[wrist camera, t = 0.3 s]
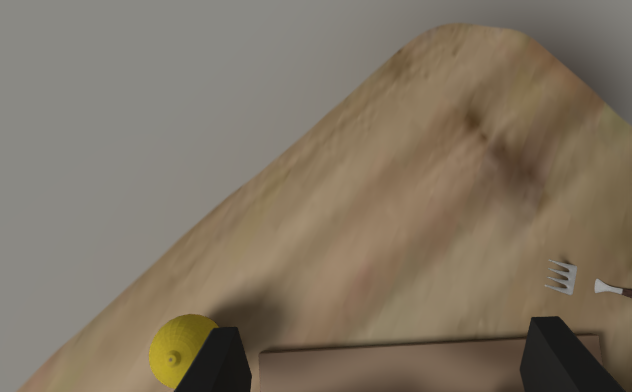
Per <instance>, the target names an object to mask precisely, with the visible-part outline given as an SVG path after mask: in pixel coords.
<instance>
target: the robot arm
mask: <svg viewBox="0 0 632 392" xmlns="http://www.w3.org/2000/svg"><path fill="white" fill-rule="evenodd" d="M519 370H520V374H521V378H522V382H523V386H524V390H525V392H626V391H625V390H624V389H623V388H622V387H621V386H620V385H619V384H618V383H617V382H616V380H615V379H614V378H613V377H612V376H611V375H610V374H609V373H608V372H607V371H606V370H605V368H604V367H603V366H602V365H601V364H600V363H599V362H598V361H597V359H596V358H595V357H594V356H593V355H592V354H591V353H590V352H589V350H588V349H587V348H586V347H585V346H584V345H583V344H582V342H581V341H580V340H579V339H578V338H577V337H576V335H575V334H574V333H573V332H572V331H571V330H570V328H569V327H568V326H567V325H566V324H565V323H564V321H563V320H562V319H561V318H560V317H558V316H554V317H531V322H530V326H529V330H528V335H527V339H526V343H525V348H524V352H523V356H522V360H521V365H520V369H519ZM251 379H252V375H251V371H250V368H249V365H248V361H247V358H246V355H245V351H244V348H243V345H242V341H241V338H240V335H239V331H238V328H237V327H221V328H213V329H212V330H211V331H210V333H209V335H208V336H207V338H206V340H205V342H204V343H203V345H202V347H201V348H200V350H199V352H198V354H197V355H196V357H195V359H194V360H193V362H192V364H191V365H190V367H189V368H188V370H187V372H186V373H185V375H184V376H183V378H182V380H181V381H180V383H179V384H178V386H177V387H176V389H175V390H174V392H250V390H251Z"/></svg>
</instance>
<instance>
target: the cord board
mask: <svg viewBox="0 0 632 392" xmlns="http://www.w3.org/2000/svg"><path fill="white" fill-rule="evenodd" d="M576 337H577V338H578V339H579V340H580V341H581V342H582V344H583V345H584V346H585V347H586V348H587V349H588V350H589V352H590V353H591V354H592V355H593V356H594V357H595V358H596V359H597V361H598V362H599V363H600V364H601V365H602V366H603V363H602V356H601V349H600V343H599V336H598V335H594V334H580V335H576ZM526 339H527V337H526V338H507V339H489V340H471V341H453V342H434V343H416V344H398V345H380V346H361V347H343V348H325V349H307V350H289V351H270V352H260V353H259V372H260V392H525V390H524V386H523V382H522V378H521V374H520V370H519V369H520V365H521V360H522V356H523V352H524V348H525V343H526Z"/></svg>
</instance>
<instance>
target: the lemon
mask: <svg viewBox="0 0 632 392" xmlns="http://www.w3.org/2000/svg"><path fill="white" fill-rule="evenodd" d="M213 328H219V327H218V326H217V324H216V323H215V322H214V321H212V320H211V319H209V318H207V317H204V316H201V315H195V314H187V315H183V316H179V317H176V318H174V319H172V320H170V321H169V322H167V323H166V324H165V325H164V326H163V327H162V328H161V329H160V330H159V331H158V333H157V334H156V335H155V337H154V339H153V341H152V344H151V346H150V351H149V362H150V366H151V369H152V372H153V373H154V375H155V377H156V378H157V379H158V380H159V381H160V382H161V383H162V384H164V385H166V386H168V387H170V388H175V389H176V387H177V386H178V384H179V383H180V381H181V380H182V378H183V376H184V375H185V373H186V372H187V370H188V368H189V367H190V365H191V364H192V362H193V360H194V359H195V357H196V355H197V354H198V352H199V350H200V348H201V347H202V345H203V343H204V342H205V340H206V338H207V336H208V335H209V333H210V331H211V330H212V329H213Z"/></svg>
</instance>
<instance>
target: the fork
mask: <svg viewBox="0 0 632 392" xmlns="http://www.w3.org/2000/svg"><path fill="white" fill-rule="evenodd" d="M549 261H551V262H554V263H556V264H558V265H560V266H563V267H565V268H568V269H569V270H570V271H569V272H564V271H559V270H555V269H550V268H548V269H549V270H552V271H554V272H556V273H559V274H561V275H564V276H566V277H568V280H561V279H557V278H552V277H547V278H549V279H552V280H554V281H557V282H559V283H562V284H564V285H566V286H567V288H559V287H554V286H548V285H545V286H547V287H550V288H552V289H555V290H557V291H560V292H563V293H566V294H568V295H572V293H573V288H574V283H575V277H576V271H577V267H576V266H575V265H570V264H566V263H561V262H557V261H553V260H549ZM603 291H611V292H615V293H619V294H621V295H624V296H627V297H630V298H632V290H629V289H621V288H615V287H611V286H608V285H606V284H605V283H603V282H602V281H600V280H599V279H596V282H595V293H599V292H603Z"/></svg>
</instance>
